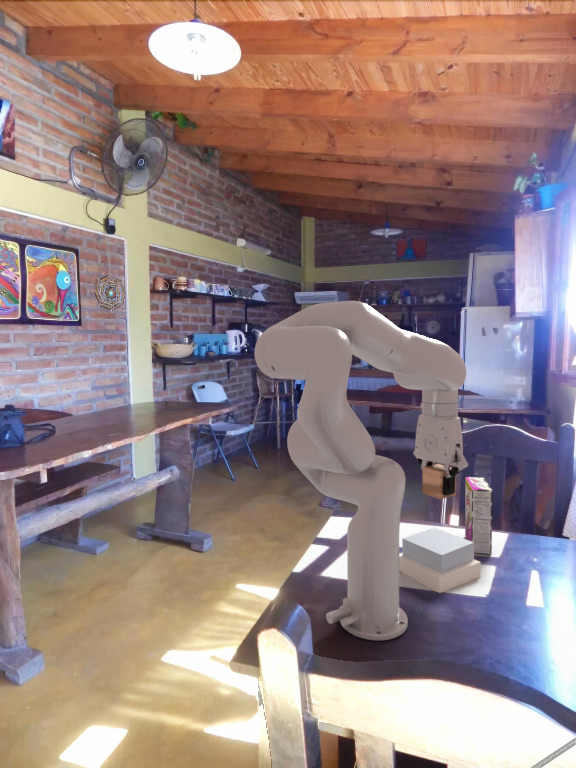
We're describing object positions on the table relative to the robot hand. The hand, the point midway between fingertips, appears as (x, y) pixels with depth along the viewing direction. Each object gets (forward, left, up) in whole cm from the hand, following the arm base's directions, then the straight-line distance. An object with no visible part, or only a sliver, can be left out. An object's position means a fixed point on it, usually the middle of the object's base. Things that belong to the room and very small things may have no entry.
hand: (438, 490), depth 109 cm
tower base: (0, 0, -20) cm, 20 cm away
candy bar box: (+20, +5, -19) cm, 28 cm away
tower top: (0, 0, -16) cm, 16 cm away
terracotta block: (0, 0, -1) cm, 1 cm away
